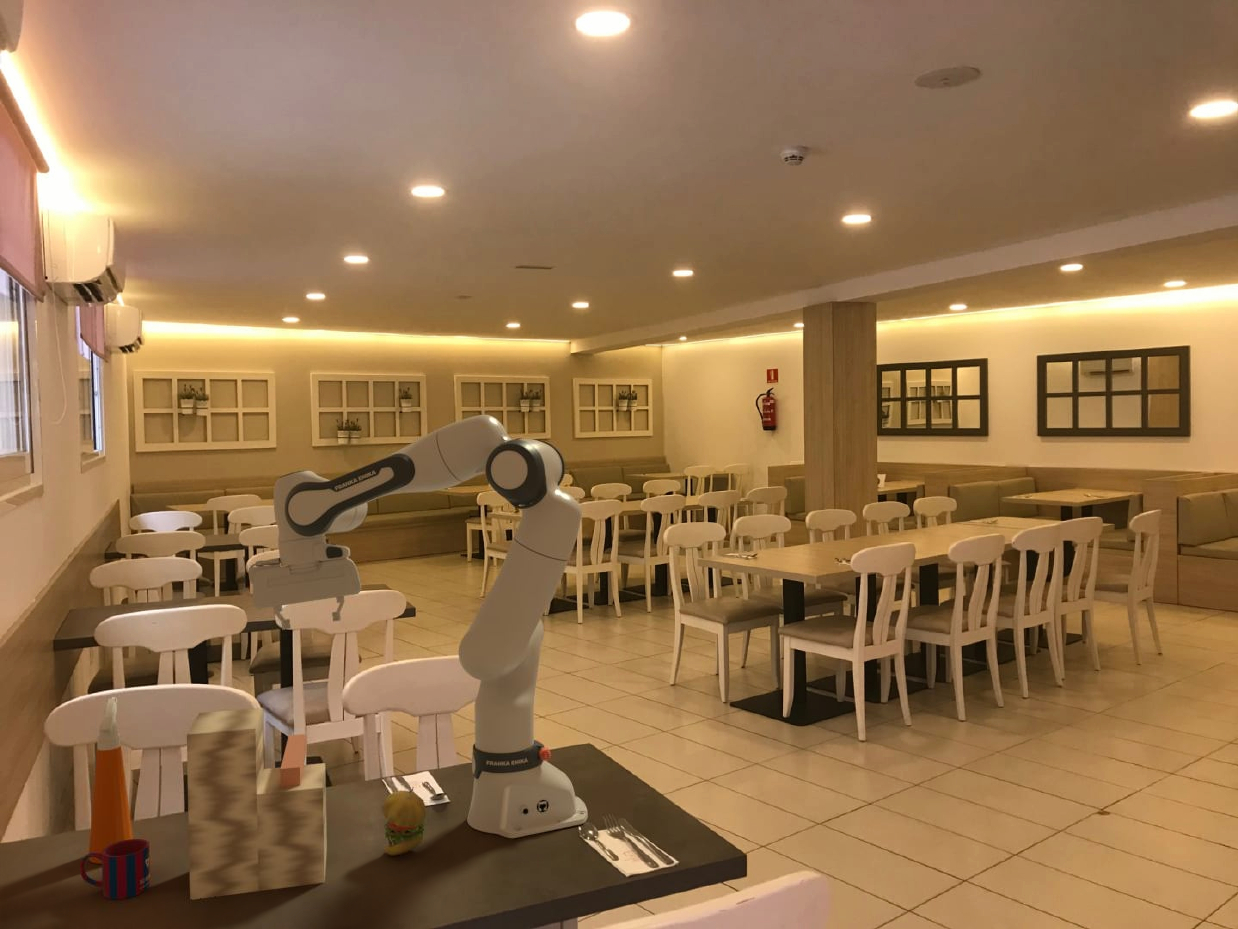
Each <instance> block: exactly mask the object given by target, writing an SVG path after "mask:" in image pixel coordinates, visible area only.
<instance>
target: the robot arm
mask: <svg viewBox="0 0 1238 929" xmlns="http://www.w3.org/2000/svg"><path fill="white" fill-rule="evenodd" d="M565 463H566V462H565V459H564V457H563V455H562V453H561V452H560V451H559V449H557V447H556V446H554V445H552V444H551V443H549V442H547V441H543V440H539V439H532V438H521V437H520V438H518V437H517V438H515V439H513V438H510V436H509V435H508V433H507V431H506V428H505V427H504V425H503V424H502V423H501V422H500V421H499V420H498V419H497V418H495V416H492V415H490V414H479V415H475V416H471V417H470V416H469V417H467V418H463V419H461V420H457V421H455V422H452V423H449V424H447V425H445V426H442V427H440V428H438V429H436V430H434V431H432V432H430V433H428V434H426V435H424V436H422V437H421V438H419V439H417V440H415V441H413V442H412V443H409V444H408V445H406V446H404V447H403V448H401V449H399V450H397V451H394V452H392V453H391V454H389V455H387V456H385V457H383V458H382V459H379V460H377V461H375V462H372V463H370V464H367V465H364V466H362V467H360V468H357V469H355V470H353V471H350V472H348V473H345V474H343V475H340V476H338V477H336V478H334V479H329V478H328V479H327V478H324V477H323V476H320V475H318V474H316V473H315V472H314V471H312V470H308V469H307V470H298V471H295V472H294V471H293V472H289V473H287V474H284V475H282V476H281V477H279V478H278V479H277V480H276V481H275V483H274V488H273V511H274V520H275V524H276V526H277V529H278V537H277V544H278V545H277V547H278V552H279V554H278V555H279V557H275V558H270V559H266V560H258V561H255V563H253V564H252V565H250V567H249V569H248V570H247V571H248V580H249V582H250V584H252V604H253V607H255V608H256V609H257V610H260V609H261V610H263V609H268V608H273V614H274V615H275V616H276V617H277V618H278V620H280V623H281V629H282V631H283V630H288V629H291V626H292V625H291V624H290V623H291V619H290V618H288V619H287V618H285V617H284V615H283V614H282V613H281V612H283V606H288V605H294V604H301V603H308V602H315V601H321V600H327V599H328V600H329V599H335V598H336V603H337V604H338V606H337V608H336V611H332V612H331V617H332V622H333V623H334V622H339V621H342V619H341V618H342V617H341V611H342V608H343V607H344V603H345V597H346V596H347V597H348V596H353V595H354V596H355V595H359V594H360V592H361V591H362V583H361V579H360V575H359V571H358V568H357V565H356V564H355V562H354V561H353V560H352V559H351V558H349V557H350V556H351V549H350V547H348V546H345V545H340V544H336V543H327V541H326V534H335V533H344V532H350V531H352V530H355V529H356V528H359V527H360V526H361V525H362V524H363V523H364V522H365V521H366V518H367V517H368V514H369V513H368V512H369V503H370V502H372V501H374V500H376V499H380V498H383V497H386V496H390V495H398V494H406V493H409V494H410V493H411V494H412V493H431V492H436V491H441V490H445V489H449V488H453V487H455V486H457V485H460V484H462V483H465V482H467V481H469V480H471V479H473V478H476V477H477V476H480V475H484V474H485V476H486V479H487V481H488V483H489V485H490V486H491V488H492V489H493V490H494V491H495V492H496V493H497V494H499V496H501V497H502V498H504V499H505V500H506V501H507V502H508V503H509V504H510V505H511V506H512V507H514V508H515V509H517V510H521V518H520V521H519V524H518V526H517V529H516V530H515V534H514V536H513V538H512V540H511V544H510V546H509V549H508V550H507V553H506V556H505V558H504V561H503V564H502V566H501V568H500V570H499V572H498V575H497V577H496V579H495V580H494V582H493V585H492V586H491V587H490V589H489V591H488V593H487V594H486V596H485V598H484V600H483V601H482V604H481V605H480V606H479V609H478V610H477V612H476V614H475V617H474V618H473V621H472V622H471V624H470V626H469V628H467V629H468V630H467V631H466V633H465V634H464V636H463V637H462V639H461V641H460V643H459V647H458V659H459V662H460V665H461V667H462V668H463V670H464V671H465V672H466V673H467V674H468V675H469V677H472V678H474V679H476V680H479V681H480V683H479V688H478V691H477V695H476V698H475V701H474V744H473V745H472V753H471V768H472V774H473V777H474V778H473V789H472V796H471V802H470V806H469V812H468V815H467V819H466V821H467V824H468V825H469V826H470V827H471V828H473V829H475V830H478V831H479V832H484V833H489V834H496V835H498V836H502V837H504V838H506V839H507V838H508V839H515V838H516V839H517V838H520V837H525V836H526V837H527V836H530V835H535V834H541V833H545V832H551V831H554V830H560V829H564V828H568V827H574V826H579V825H582V824H585V823H586V822H587V820H588V818H589V815H588V813H589V812H588V808H587V806H586V803H585V802H584V801H583V800H582V799H581V798H580V797H578V796H577V795H576V794H575V788H574V786H573V784H572V781H571V780H570V778H569V777H568V776H567V774H566V773H565V772H563V771H562V770H560V769H559V768H557V767H556V766H554V765H553V764H551V763H550V762H548V760H550V758H551V756H552V754H551V751H550V750H549V748H548V747H546V746H545V745H544V744H543V743H542V742H540V741H539V739H535V712H534V711H535V694H536V686H537V679H538V672H539V666H540V665H539V664H540V656H541V646H542V643H543V638H544V635H545V634H544V633H545V631H544V630H545V629H544V623H543V621H542V618H543V615H545V612H546V610H547V608H548V607H549V606H550V603H551V602H552V600H553V599H554V597H555V594H556V591H557V590H558V587H559V585H560V583H561V580H562V578H563V576H564V574H565V573H564V572H565V570H566V568H567V566H568V563H569V560H570V558H571V555H572V553H573V551H574V547H575V544H576V541H577V537H578V535H579V530H580V526H581V521H582V516H583V515H582V514H583V510H582V506H581V505H580V503H579V502H578V500H577V499H575V498H574V497H573V496H572V495H571V494H569V493H567V492H565V491H563V490H562V488H560V487H559V486H560V485H561V483H562V481H563V480H564V479H565V478H564V477H565V475H566V474H565V473H566V464H565Z"/></svg>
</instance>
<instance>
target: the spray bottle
mask: <svg viewBox="0 0 1238 929" xmlns="http://www.w3.org/2000/svg"><path fill="white" fill-rule="evenodd" d="M117 704H118V699H117V697H115V696H112V697H109V698H107V699H106V704H105V709H104V710H103V715H102V719H101V723H100V725H99V729H98V735H99V736H98V737H97V740H96V742H97V749H96V761H95V773H94V785H93V798H92V807H91V808H92V809H91V810H92V811H91V821H90V822H91V823H90V834H89V847H88V848H89V849H88V854H90V853H102V851H103V850H104V849H105V848H106V847H107V846H109V845H111V844H113V843H116V842H119V841H123V840H129V839H134V835H133V826H132V821H131V820H132V819H131V812H130V804H129V798H128V790H127V782H126V774H125V768H124V767H125V766H124V759H123V750H122V744H121V741H122V740H121V734H120V733H119V725H118V723H117V721H116V716H117V711H118V706H117ZM88 861H89V862H91V863H93V864H96V865H97V864H99V865H102V860H100V859H98V858H96V857H89V858H88Z"/></svg>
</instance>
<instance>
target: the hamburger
mask: <svg viewBox="0 0 1238 929" xmlns="http://www.w3.org/2000/svg"><path fill="white" fill-rule="evenodd" d="M413 790H414V786H413V787H412V788H411V789H410V790H409V791H407V790H402V789H401V790H396V791H394V792H391V793H389V795H387V797H386V798H385V799H384V801H383V803H382V806H381V811H382V813H383V815H384V818H385V819H387V820H386V822H385V824H384V828H385V831H386V832H384V836H385V838H387V844H386V845H385V846H384V847H383V850H384V852H385V853H386V854H387V855H388V856H400V855H403V854H405V853H408V852H410V851H412V850H413V849H416V848H417V847H418V846H419V845H420V844H421V843H422V842H423V839H424V831H425V829H424V827H425V824H426V823H425V821H424V820H425V818H426V814H427V808H426V805H425V803H424V799H423V798H421V797H420V795H418V794H416V793H414V792H413Z"/></svg>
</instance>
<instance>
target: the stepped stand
mask: <svg viewBox="0 0 1238 929" xmlns="http://www.w3.org/2000/svg"><path fill="white" fill-rule="evenodd" d="M263 708H264V707H258V708H257V707H256V708H245V709H231V710H221V711H209V712H198V714H197V716H196V717H195V720H194V721H193V722H192V724H191V726H190V728H189V730H188V732H187V733H186V763H187V766H186V767H187V801H188V802H187V803H188V804H187V805H188V806H187V807H188V808H187V809H188V810H187V811H188V812H187V813H188V815H187V816H188V848H189V849H188V851H189V852H188V853H189V855H188V857H189V896H190V897H189V898H190V900H191V899H192V900H199V899H200V898H201V899H207V898H208V899H209V898H214V897H215V896H216V897H222V896H230V895H231V896H233V895H238V894H246V893H253V892H254V893H255V892H260V891H269V890H279V889H284V888H294V887H299V886H300V887H301V886H307V885H309V886H310V885H316V884H323V883H325V880H326V867H327V856H328V854H327V852H328V848H327V847H328V844H327V843H328V842H327V836H328V834H327V792H326V790H327V787H326V784H327V783H326V781H327V779H326V776H327V775H326V762H322V763H313V764H312V763H311V764H304V768H303V774H302V779H301V784H300V786H290V787H281V776H280V769H281V766H280V767H272V768H271V767H270V768H265V761H264V760H265V759H264V756H265V753H264V747H265V746H264V709H263ZM216 897H215V898H216ZM201 899H200V900H201Z"/></svg>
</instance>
